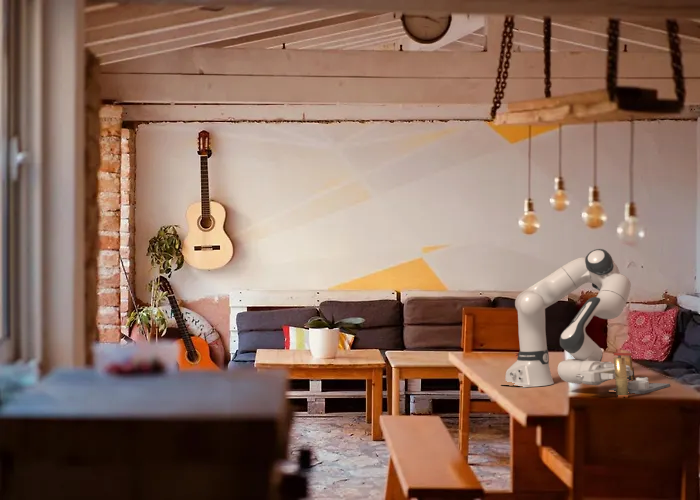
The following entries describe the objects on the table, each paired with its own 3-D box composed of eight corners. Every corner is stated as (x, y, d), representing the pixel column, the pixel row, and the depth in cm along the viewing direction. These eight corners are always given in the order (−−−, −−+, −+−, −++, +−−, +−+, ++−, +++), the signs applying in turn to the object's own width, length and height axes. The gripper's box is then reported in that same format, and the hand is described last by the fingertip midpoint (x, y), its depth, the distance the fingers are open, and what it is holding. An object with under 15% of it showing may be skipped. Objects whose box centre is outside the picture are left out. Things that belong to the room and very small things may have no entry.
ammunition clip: (620, 377, 356) (618, 349, 356) (625, 377, 356) (622, 348, 357) (630, 380, 345) (627, 351, 346) (634, 380, 345) (632, 350, 346)
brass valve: (614, 397, 304) (611, 353, 305) (620, 396, 307) (616, 352, 307) (632, 398, 299) (628, 353, 300) (637, 397, 302) (634, 352, 303)
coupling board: (608, 392, 318) (607, 382, 318) (636, 385, 332) (635, 375, 332) (643, 394, 308) (642, 384, 308) (670, 386, 321) (669, 376, 322)
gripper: (572, 367, 310) (601, 369, 298) (611, 361, 321) (641, 362, 309) (573, 385, 310) (602, 387, 298) (613, 378, 320) (643, 380, 309)
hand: (622, 374), depth 304 cm, fingers open, 7 cm apart
